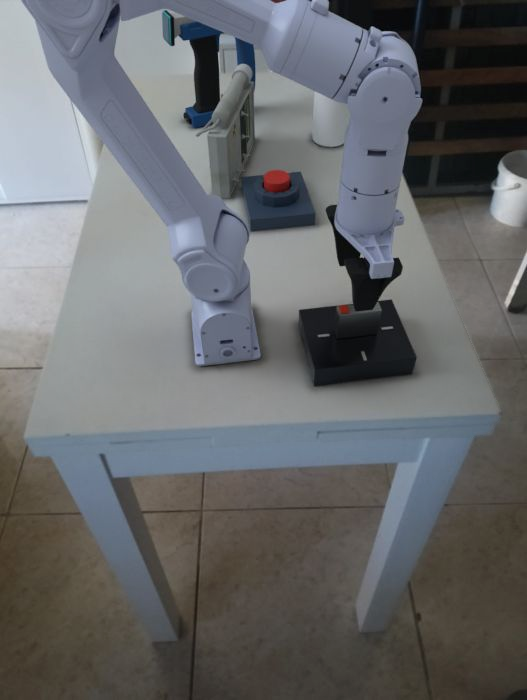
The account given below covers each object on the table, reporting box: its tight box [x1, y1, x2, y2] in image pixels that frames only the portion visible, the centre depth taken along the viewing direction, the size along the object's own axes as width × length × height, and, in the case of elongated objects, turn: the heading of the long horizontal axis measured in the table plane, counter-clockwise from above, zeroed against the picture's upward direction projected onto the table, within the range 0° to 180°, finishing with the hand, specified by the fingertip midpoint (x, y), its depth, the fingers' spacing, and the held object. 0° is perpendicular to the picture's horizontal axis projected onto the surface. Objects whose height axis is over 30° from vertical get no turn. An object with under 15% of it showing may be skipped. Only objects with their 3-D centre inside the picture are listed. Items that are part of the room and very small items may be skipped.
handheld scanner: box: [161, 9, 256, 129], centre depth 105 cm, size 5×16×20 cm, turn 115°
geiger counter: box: [195, 64, 256, 200], centre depth 96 cm, size 14×6×25 cm
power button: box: [263, 169, 290, 193], centre depth 88 cm, size 4×4×2 cm
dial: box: [334, 302, 382, 339], centre depth 67 cm, size 5×2×4 cm, turn 98°
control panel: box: [297, 299, 417, 387], centre depth 70 cm, size 12×10×3 cm
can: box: [311, 91, 350, 149], centre depth 101 cm, size 6×6×12 cm
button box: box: [240, 171, 316, 232], centre depth 90 cm, size 12×10×4 cm
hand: (355, 285), depth 65 cm, fingers open, 7 cm apart
